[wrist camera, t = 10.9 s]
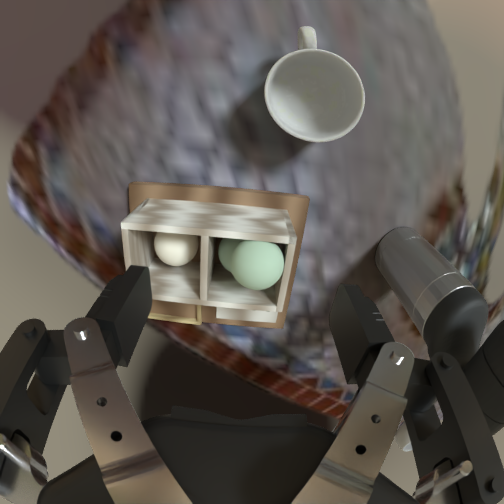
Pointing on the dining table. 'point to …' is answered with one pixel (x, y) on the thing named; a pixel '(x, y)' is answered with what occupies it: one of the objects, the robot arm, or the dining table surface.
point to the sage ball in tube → (227, 251)
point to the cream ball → (175, 247)
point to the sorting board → (213, 249)
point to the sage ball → (257, 264)
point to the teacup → (314, 92)
